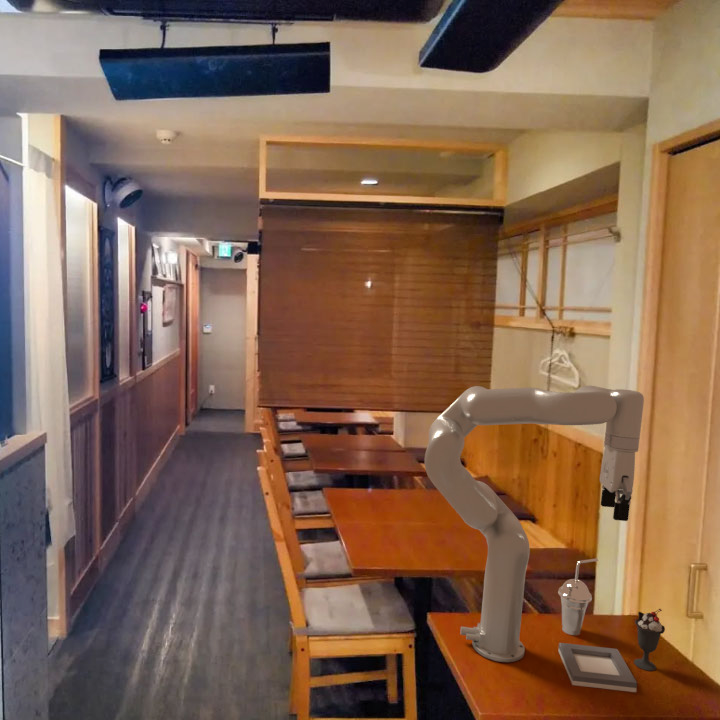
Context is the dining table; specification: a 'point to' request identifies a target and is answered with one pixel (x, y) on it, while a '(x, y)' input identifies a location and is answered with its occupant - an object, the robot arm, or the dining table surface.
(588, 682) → the square picture frame
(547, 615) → the dining table surface
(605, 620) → the dining table surface
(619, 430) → the robot arm
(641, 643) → the sundae
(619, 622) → the dining table surface
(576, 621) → the cup with straw
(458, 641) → the dining table surface
